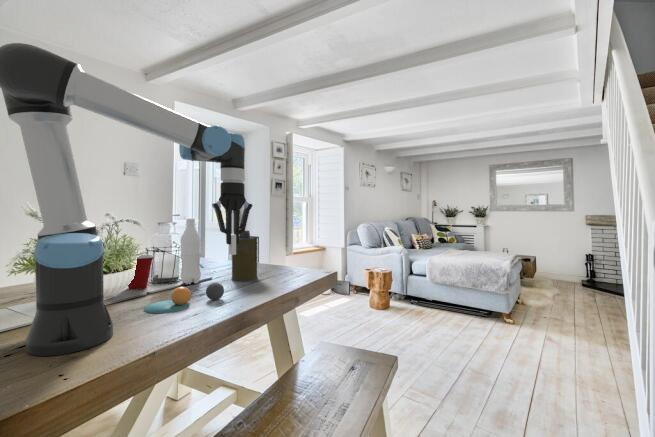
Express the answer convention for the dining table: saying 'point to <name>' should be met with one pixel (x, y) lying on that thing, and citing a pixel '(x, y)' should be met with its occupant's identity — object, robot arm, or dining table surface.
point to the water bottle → (190, 253)
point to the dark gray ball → (214, 291)
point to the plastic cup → (141, 272)
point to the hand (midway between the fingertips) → (232, 254)
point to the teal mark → (164, 307)
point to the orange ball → (180, 295)
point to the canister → (245, 258)
